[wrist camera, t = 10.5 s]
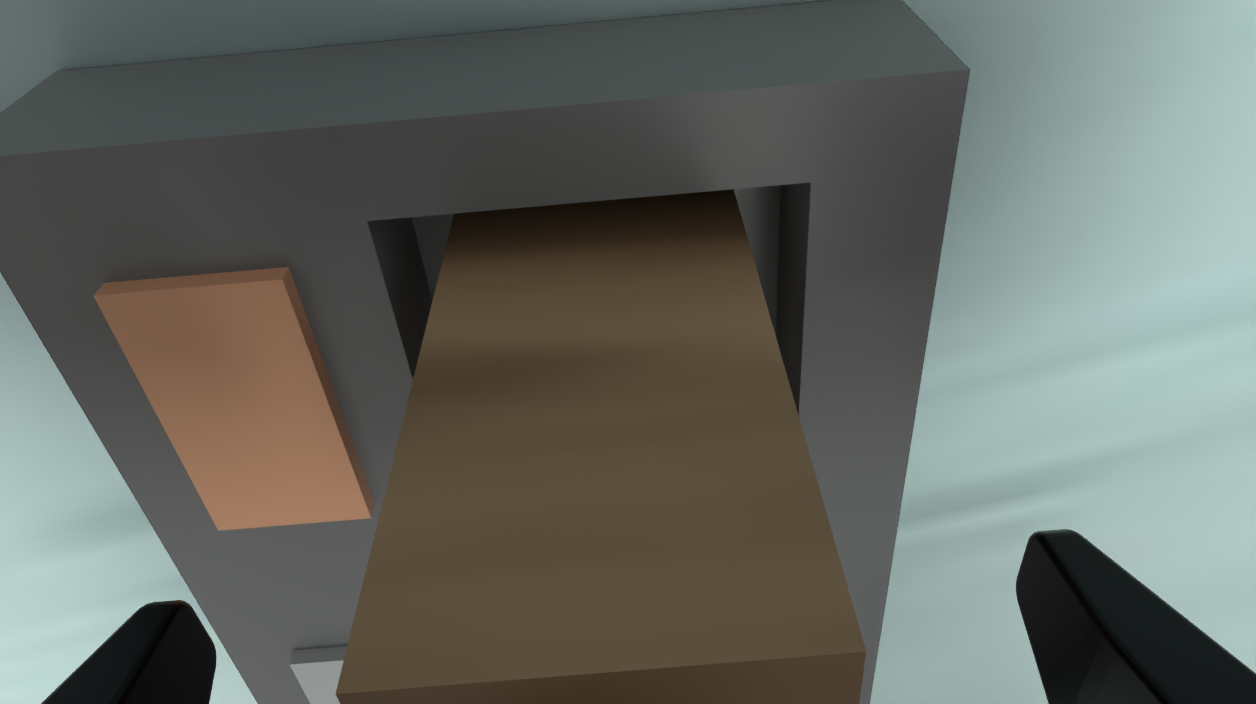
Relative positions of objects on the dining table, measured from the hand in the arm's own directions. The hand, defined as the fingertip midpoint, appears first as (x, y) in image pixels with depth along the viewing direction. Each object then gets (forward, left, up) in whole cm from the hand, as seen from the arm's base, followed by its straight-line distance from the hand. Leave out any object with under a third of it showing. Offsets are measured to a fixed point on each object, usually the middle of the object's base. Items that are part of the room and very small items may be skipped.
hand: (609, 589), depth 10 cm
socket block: (-4, +1, -7) cm, 8 cm away
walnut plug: (0, 0, -6) cm, 6 cm away
